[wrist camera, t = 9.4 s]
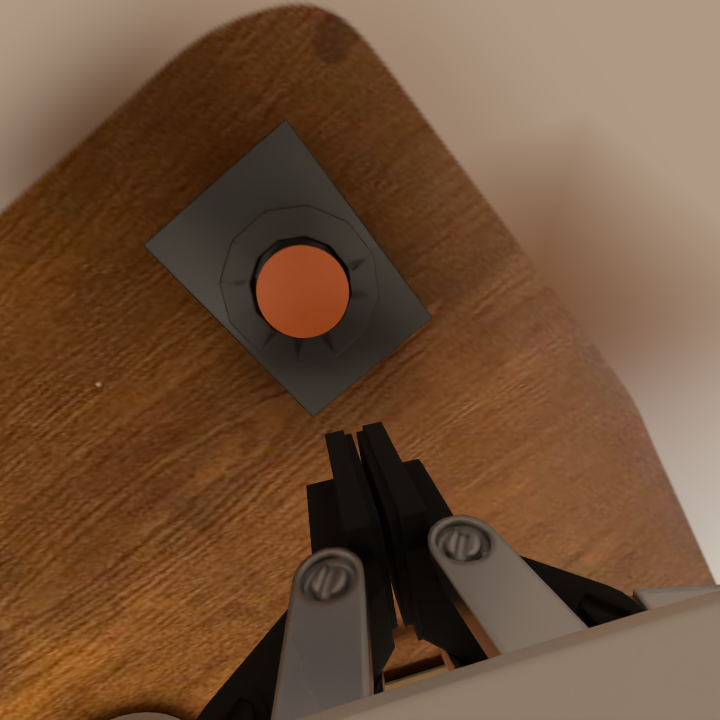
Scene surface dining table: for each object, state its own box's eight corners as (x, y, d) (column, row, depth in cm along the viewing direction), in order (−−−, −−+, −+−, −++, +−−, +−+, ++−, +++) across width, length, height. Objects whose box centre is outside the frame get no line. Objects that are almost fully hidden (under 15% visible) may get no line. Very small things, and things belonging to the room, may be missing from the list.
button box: (155, 244, 18) (125, 245, 15) (285, 129, 18) (285, 103, 14) (311, 404, 22) (315, 433, 18) (422, 312, 21) (446, 325, 18)
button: (240, 282, 16) (235, 287, 15) (306, 226, 16) (308, 224, 14) (298, 345, 18) (299, 356, 16) (359, 293, 17) (367, 298, 16)
